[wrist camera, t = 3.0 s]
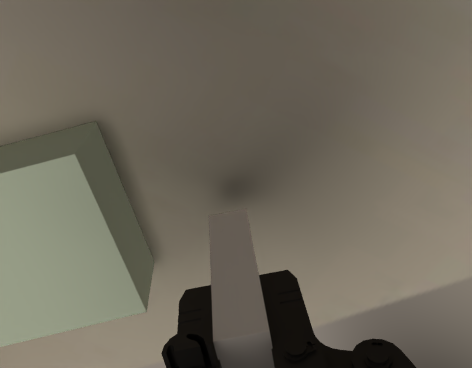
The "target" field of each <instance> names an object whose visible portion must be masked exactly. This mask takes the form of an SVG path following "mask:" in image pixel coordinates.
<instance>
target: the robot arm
mask: <svg viewBox="0 0 472 368" xmlns="http://www.w3.org/2000/svg"><path fill="white" fill-rule="evenodd" d="M209 236H210V265H211V285H209V286H204V287H198V288H193V289H188V290H186V291H185V292H184V294H183V296H182V298H181V299H180V301H179V316H178V332H177V334H176V335H175V336H173V337H172V338H171V339H169V341H168V342H167V343H166V344H165V345H164V348H163V351H162V356H163V359H164V362H165V365H166V368H416V367H415V366H414V365H413V363H412V362H411V361H410V360H409V359H408V358H407V357H406V356H405V354H404V353H403V352H402V351H401V350H400V349H399V348H398V347H397V346H395V345H394V344H393V343H390V342H388V341H385V340H382V339H370V340H365V341H362V342H361V343H359V344H358V345H356V347H355V348H354V350H353V351H346V350H338V349H332V348H330V347H328V346H325V345H324V344H322V343H321V342H320V341H319V340H318V339H317V338H316V337H315V335H314V333H313V330H312V326H311V323H310V320H309V317H308V313H307V310H306V307H305V304H304V300H303V297H302V294H301V291H300V288H299V284H298V281H297V278H296V277H295V276H294V275H293V274H292V273H290V272H289V271H288V270H284V271H279V272H273V273H268V274H263V275H259V273H258V268H257V263H256V257H255V252H254V247H253V242H252V236H251V231H250V226H249V221H248V215H247V210H246V209H242V210H236V211H231V212H226V213H220V214H215V215H210V216H209Z"/></svg>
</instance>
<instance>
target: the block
mask: <svg viewBox="0 0 472 368" xmlns="http://www.w3.org/2000/svg"><path fill="white" fill-rule="evenodd" d="M153 267H154V260H153V258H152V255H151V253H150V250H149V248H148V246H147V243H146V241H145V238H144V236H143V233H142V231H141V229H140V226H139V224H138V221H137V219H136V217H135V214H134V212H133V209H132V207H131V204H130V202H129V200H128V197H127V195H126V192H125V190H124V188H123V185H122V183H121V180H120V178H119V176H118V173H117V171H116V168H115V166H114V163H113V161H112V159H111V156H110V154H109V151H108V149H107V147H106V144H105V142H104V139H103V137H102V134H101V132H100V130H99V127H98V125H97V122H96V121H95V122H91V123H87V124H83V125H80V126H76V127H72V128H68V129H64V130H61V131H57V132H53V133H49V134H45V135H42V136H38V137H34V138H30V139H26V140H23V141H19V142H15V143H11V144H7V145H4V146H0V347H3V346H7V345H11V344H15V343H19V342H24V341H28V340H32V339H36V338H40V337H44V336H49V335H53V334H57V333H61V332H65V331H69V330H74V329H78V328H82V327H86V326H90V325H94V324H99V323H103V322H107V321H111V320H115V319H119V318H123V317H128V316H132V315H136V314H140V313H144V312H147V306H148V299H149V293H150V286H151V280H152V274H153Z"/></svg>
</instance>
